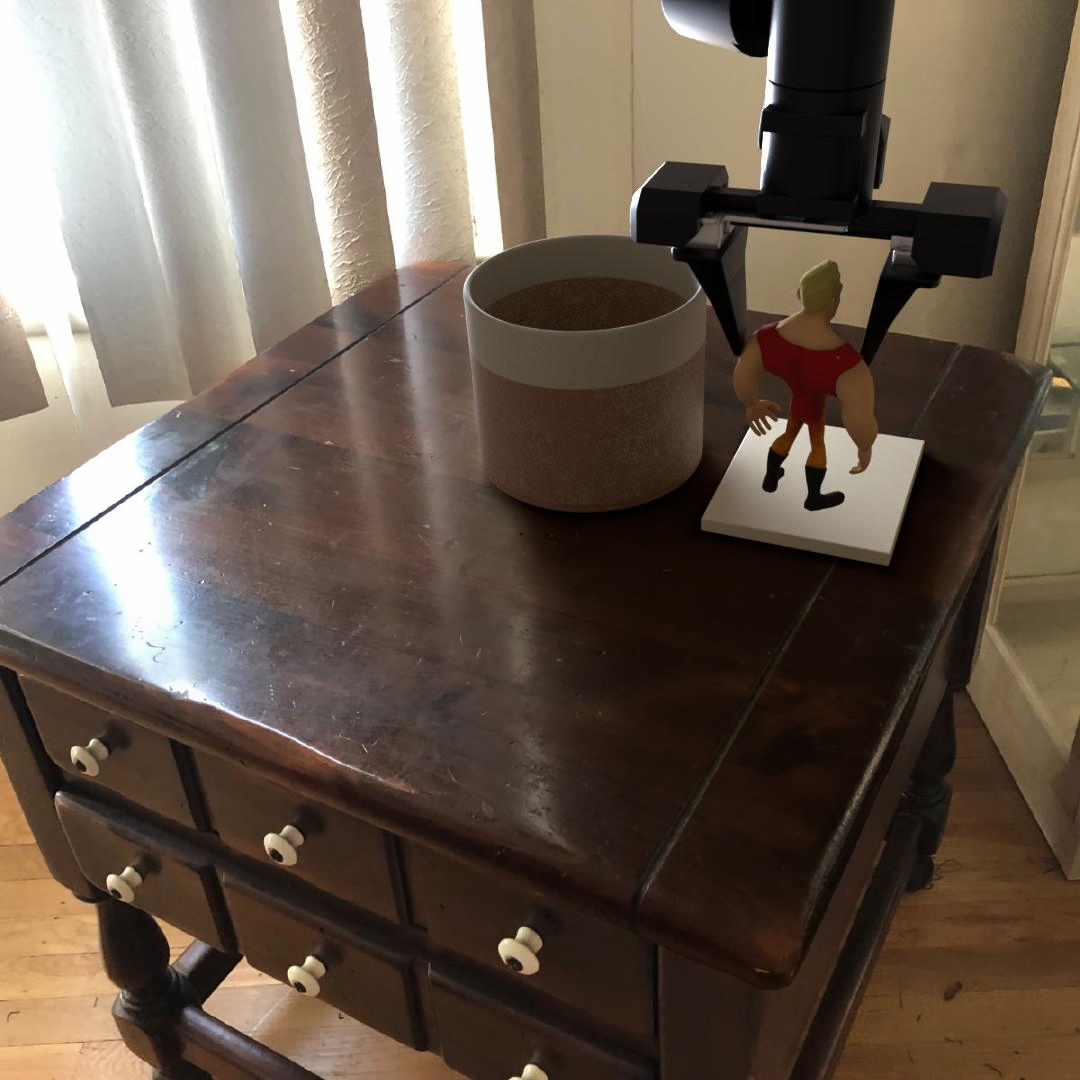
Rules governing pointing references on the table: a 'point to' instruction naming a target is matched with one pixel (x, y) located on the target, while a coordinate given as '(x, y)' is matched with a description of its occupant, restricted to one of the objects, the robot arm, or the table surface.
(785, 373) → the action figure
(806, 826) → the table surface
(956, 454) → the table surface
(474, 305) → the planter
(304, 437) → the table surface
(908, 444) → the display board
